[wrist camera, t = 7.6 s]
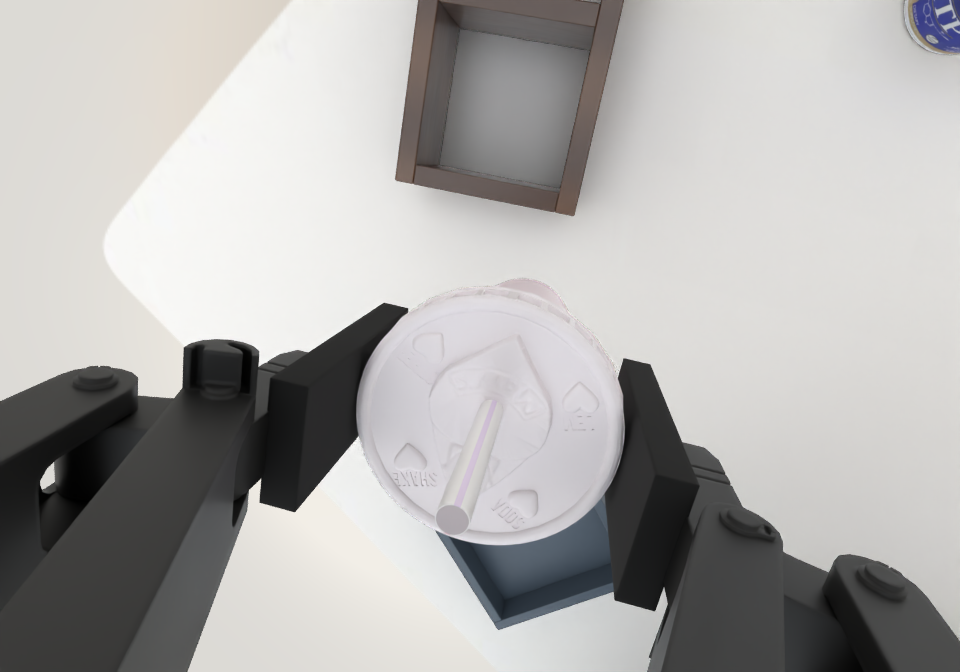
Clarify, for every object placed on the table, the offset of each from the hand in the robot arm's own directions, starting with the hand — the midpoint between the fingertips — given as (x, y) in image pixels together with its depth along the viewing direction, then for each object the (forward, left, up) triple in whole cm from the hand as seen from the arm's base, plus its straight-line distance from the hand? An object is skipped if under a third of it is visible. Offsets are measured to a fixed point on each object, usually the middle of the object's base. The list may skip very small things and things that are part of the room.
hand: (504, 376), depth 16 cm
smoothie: (0, 0, -6) cm, 6 cm away
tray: (-16, +9, -19) cm, 27 cm away
